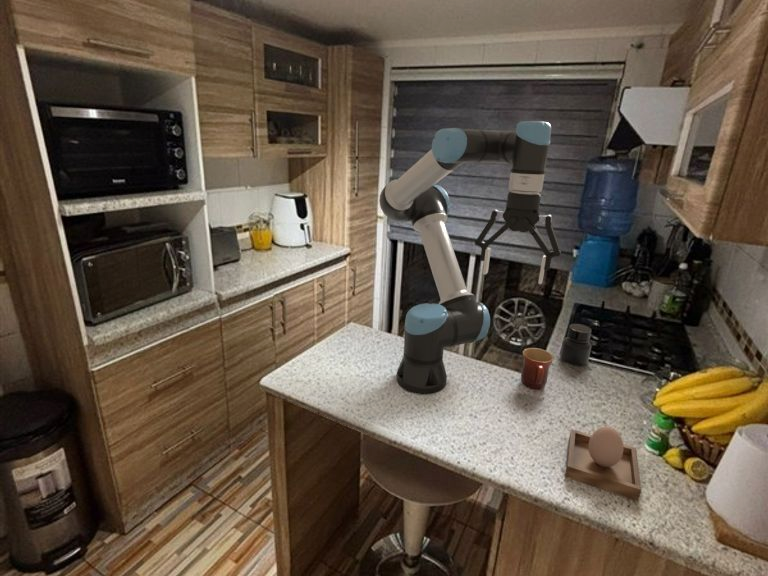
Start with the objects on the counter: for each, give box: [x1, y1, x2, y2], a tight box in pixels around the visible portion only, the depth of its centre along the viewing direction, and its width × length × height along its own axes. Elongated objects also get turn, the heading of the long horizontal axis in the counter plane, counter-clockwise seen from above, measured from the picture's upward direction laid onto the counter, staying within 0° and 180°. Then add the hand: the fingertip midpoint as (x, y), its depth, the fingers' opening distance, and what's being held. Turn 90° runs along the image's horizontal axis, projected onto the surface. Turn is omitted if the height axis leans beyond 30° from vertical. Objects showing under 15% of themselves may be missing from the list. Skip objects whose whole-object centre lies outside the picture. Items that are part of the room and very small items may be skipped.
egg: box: [588, 425, 624, 467], centre depth 93 cm, size 7×7×10 cm
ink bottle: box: [559, 323, 592, 367], centre depth 140 cm, size 10×9×12 cm
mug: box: [520, 347, 555, 391], centre depth 123 cm, size 12×9×10 cm
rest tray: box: [564, 428, 642, 502], centre depth 94 cm, size 14×14×3 cm
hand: (512, 277), depth 105 cm, fingers open, 13 cm apart
